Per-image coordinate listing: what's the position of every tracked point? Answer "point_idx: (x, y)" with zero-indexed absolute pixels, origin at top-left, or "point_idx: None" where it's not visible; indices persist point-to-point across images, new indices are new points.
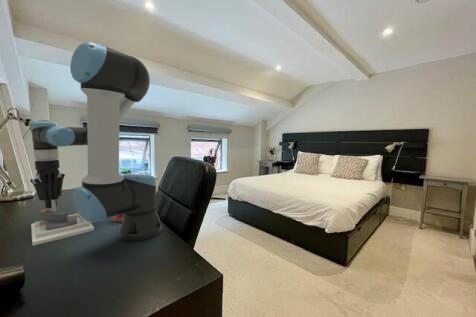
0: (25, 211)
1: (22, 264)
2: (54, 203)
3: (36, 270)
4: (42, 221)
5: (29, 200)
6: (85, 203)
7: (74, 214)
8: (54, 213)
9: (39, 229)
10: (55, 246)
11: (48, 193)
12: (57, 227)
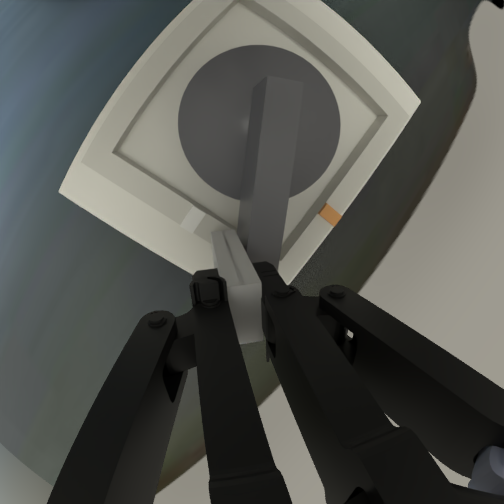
0: None
1: (467, 49)
2: (231, 267)
3: (466, 5)
4: None
5: None
6: None
7: (119, 179)
8: (290, 169)
9: (364, 155)
10: (397, 20)
11: (328, 334)
12: (327, 85)
